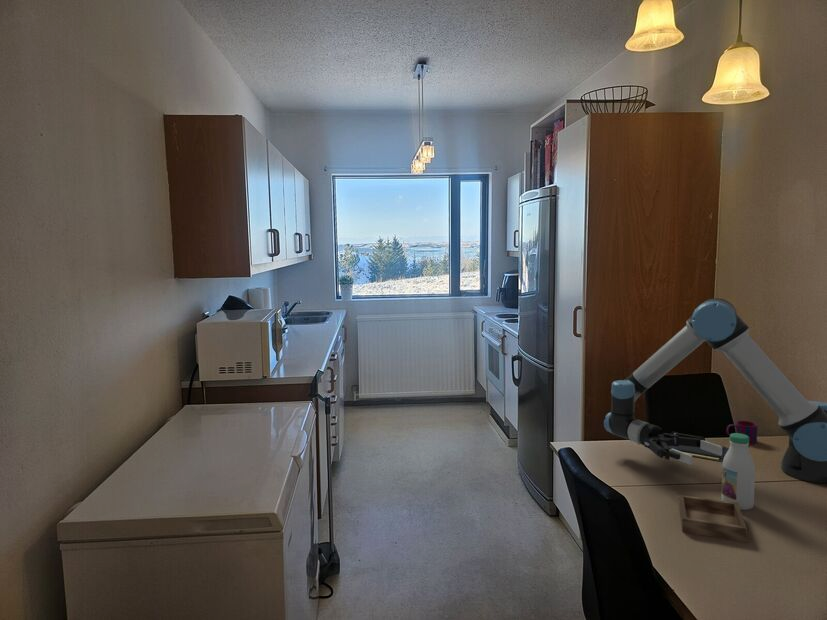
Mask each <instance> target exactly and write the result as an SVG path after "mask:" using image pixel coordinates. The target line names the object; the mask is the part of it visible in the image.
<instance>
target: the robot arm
mask: <svg viewBox="0 0 827 620" xmlns="http://www.w3.org/2000/svg"><path fill="white" fill-rule="evenodd" d="M685 324H686V325H685V326H684V327H683V328H682V329H680V330H679V331H678V332H677V333H676V334H675V335H674V336H672V338H670V339H669V340H668V341H667V342H666V343H665V344H663V345H662V346H661V347H660V348H658V349H657V351H656V352H655V353H653V354H652V355H651V356H650V357H648V359H647V360H645V362H643V363H642V364H641V365H640V366H639V367H637V369H635V370H634V371H633V372H632V373H631V374H630V375H629V376H627V377H626V378H625V379H624V380H623V379H619V380H614V381H612V383H611V390H610V393H611V394H610V395H611V396H610V397H611V399H610V401H611V411H610V412H608V413H607V414H606V415H605V417H604V420H603V426H604V429H605V430H606V432H608V433H610V434H612V435H614V436H616V437H620V438H623V439H625V440H629V441H631V442H634V443H636V444H637V445H642V446H643V447H645V448H646V449H649V450H650V451H651V452H652V453H653V454H655V455H656V456H657V457H659V458H661V459H662V458H664V459H665V460H666V461H670V458H671V459H673V460H676V461H679V462H681V463H684V464H687V465H689V466H692V465H693V457H692V455H689V454H686V453H684V452H681V451H678V450H675V449H673V448H672V449H671V451H670V449H669V446H679V445H682V446H692V447H700V449H702V450H705V451H708V452H711V453H714V454H717V455H720V456H721V455H722V446H723V445H720V446H719V444H716V443H713V442H709V441H707V440H706V437H704V436H698V435H693V434H686V433H680V432H676V431H671V433H667V432H664V431H663V429H662V428H661V427H660V426H658V425H655V424H652V423H649V422H647V421H643V420H640V419H637V418H635V409H636V408H635V406H636V401H637V400H638V399H639V398H640V397H641V396H642V395H643V394H644V393H645V392H646V391H648V389H650V388H651V387H652V386H653V385H654V384H655V383H657V382H659V380H661V378H663V377H664V376H665V375H667V374H668V373H669V372H670V371H671V370H672V369H673V368H675V367H676V366H677V365H678V364H680V362H682V361H683V360H684V359H685V358H686V357H688V356H689V355H690V354H692V352H694V351H695V350H696V349H697V348H698V347H700V346H701V345H702V344H703V343H704V342H706V343H707V344H708V345H709V346H710V347H711V348H712V349H713V350H714V351H717V352H721V353H723V354H724V355H725V357H727V359H728V360H729V361H730V362H731V363H732V364H733V365H734V367H735V368H736V369H737V370H738V371H739V372H740V374H741V375H742V376H743V377H744V378H745V379H746V380H747V382H748V383H749V384H750V385H751V387H753V388H754V390H755V391H756V392H757V394H759V395H760V397H762V399H763V400H764V401H765V402H766V404H767V405H768V406H769V407H770V408H771V410H773V412H774V413H775V414H776V415H777V416H778V426H779V427H780V428H781V429H782V430H783V432H784V433H785V435H786V436H788V438H789V439H788V447H787V448H786V451H785V453H784V455H783V457H782V459H781V463H780V464H781V465H780V469H781V471H782V472H783V473H785V474H786V475H788V476H790V477H793V478H795V479H799V480H802V481H806V482H810V483H817V484H827V402H825V401H818V400H817V401H815V400H807V399H806V398H805V397H804V396H803V394H802V393H801V392H800V391H799V390H798V389H797V387H795V386H794V385H793V383H792V382H791V381H790V380H789V379H788V378H787V376H786V375H784V373H783V372H782V371H781V369H779V368H778V366H777V365H776V364H775V363H774V362H773V361H772V360H771V359H770V358H769V357H768V356H767V354H766V353H765V352H764V350H762V349H761V348H760V346H759V345H758V344H757V343H756V342H755V341H754V339H752V338H751V336H750V327H749V325H747V323H746V322H745V321H744V320H743V319H742V318H741V316H740V315H738V313H737V310H736V308H735V306H734V304H732V303H731V302H730V301H728V300H726V299H723V298H719V297H718V298H717V297H713V298H710V299H707V300H705V301H703V302H702V303H701V304H699V305H698V306H697V307H696V308H695V309H694V311H693V313H692V315H691V316H690V317H689V318H688V319H687V320H686V323H685ZM675 441H676V443H675Z"/></svg>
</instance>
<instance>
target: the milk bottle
mask: <svg viewBox="0 0 827 620" xmlns="http://www.w3.org/2000/svg"><path fill="white" fill-rule="evenodd" d="M729 434H730V436H729V445H730V446H729V447H728V448H729V450H728V451H727V453H726V455H725V457H724V459H723V462H722V468H721V469H722V470H721V492H720V493H721V495H720V496H721V499H720V501H727V502H735V503H738V505H739V508H740V511H748V510H749V511H750V510H751V509H753V508H754V506H755V484H756V483H755V481H756V477H755V476H756V473H755V471H756V470H755V469H756V467H755V462H754V459H753V456H752V455H751V453H750V450H749V445H750V444H749V436H747V435H745V434H740V433H736V432H734V433H729Z"/></svg>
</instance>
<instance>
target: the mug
mask: <svg viewBox="0 0 827 620" xmlns="http://www.w3.org/2000/svg"><path fill="white" fill-rule="evenodd" d="M731 427H734V428H735V433H740V434H745V435H747V436H749V445H756V444H758V428H759V427H758V423H756V422H753V421H749V420H737V421H736V422H735V424H731V423H730V424H728V425H727V427H726V434H727V435H728V436H729V437H730V434H731V433H730V432H729V430H730V428H731Z"/></svg>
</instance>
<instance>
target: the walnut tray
mask: <svg viewBox="0 0 827 620" xmlns="http://www.w3.org/2000/svg"><path fill="white" fill-rule="evenodd" d="M678 509H679V510H678V511H679V517H680V525H681V531H682V532H683V533H688V534H694V535H701V536H705V537H711V538H717V539H718V538H719V539H724V540H730V541H734V542H735V541H737V542H741V543H742V542H743V543H747V542H748V540H747V538H748V528H747V525H746V522H745V518H744V517H743V516H744V515H743V514H742V510H740V508H739V505H738V503H735V502H727V501H722V500H721V499H720V500H719V499H713V498H712V499H711V498H704V497H698V496H691V495H685V494H684V495H682V494H679V495H678Z"/></svg>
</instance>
